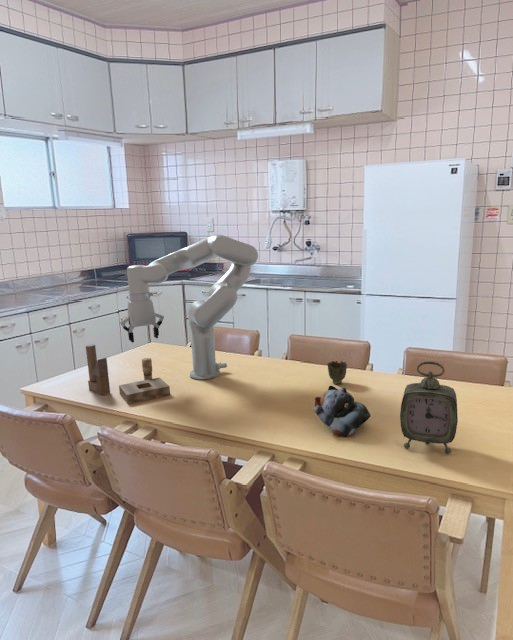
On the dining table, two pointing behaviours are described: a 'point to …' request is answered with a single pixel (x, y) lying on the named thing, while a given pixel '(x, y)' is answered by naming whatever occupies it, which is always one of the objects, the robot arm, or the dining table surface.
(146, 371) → the peg
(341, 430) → the lucky cat figurine
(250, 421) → the dining table surface
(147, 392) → the board
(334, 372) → the cup
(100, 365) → the brown jointed angular part
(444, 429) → the tabletop clock
